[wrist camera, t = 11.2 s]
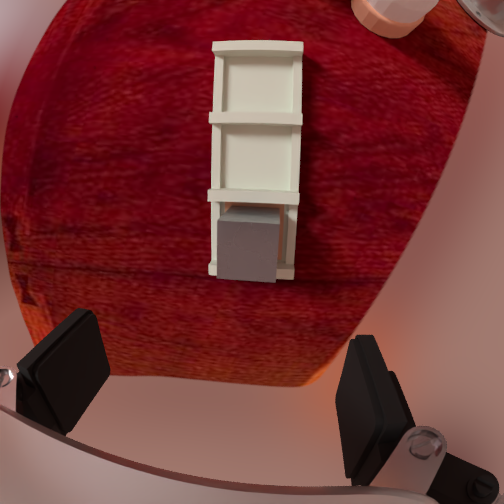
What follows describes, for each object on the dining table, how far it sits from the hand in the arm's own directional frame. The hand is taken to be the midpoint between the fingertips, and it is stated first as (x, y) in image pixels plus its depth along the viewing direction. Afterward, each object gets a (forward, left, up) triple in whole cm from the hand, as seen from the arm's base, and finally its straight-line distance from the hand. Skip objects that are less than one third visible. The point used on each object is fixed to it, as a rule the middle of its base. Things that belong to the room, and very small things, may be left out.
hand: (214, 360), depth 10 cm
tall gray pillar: (0, 0, -20) cm, 20 cm away
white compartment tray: (0, -7, -21) cm, 22 cm away
